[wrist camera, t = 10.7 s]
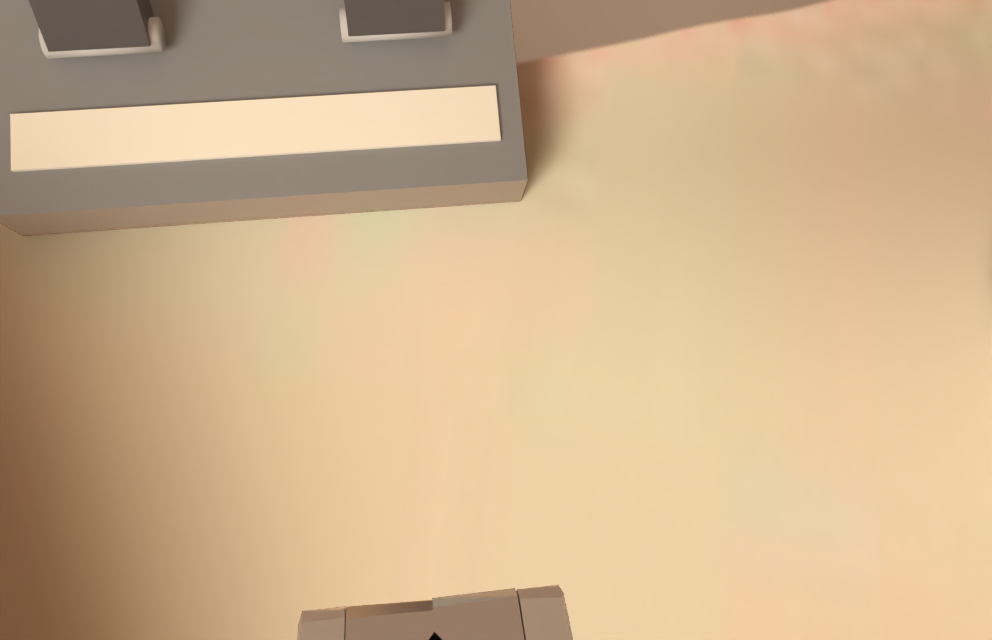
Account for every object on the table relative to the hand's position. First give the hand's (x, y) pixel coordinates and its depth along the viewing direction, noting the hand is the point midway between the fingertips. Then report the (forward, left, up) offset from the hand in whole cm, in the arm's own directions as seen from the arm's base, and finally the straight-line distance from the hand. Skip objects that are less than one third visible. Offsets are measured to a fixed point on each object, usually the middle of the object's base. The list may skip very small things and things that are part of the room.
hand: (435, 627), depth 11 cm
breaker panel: (+6, -21, -29) cm, 37 cm away
